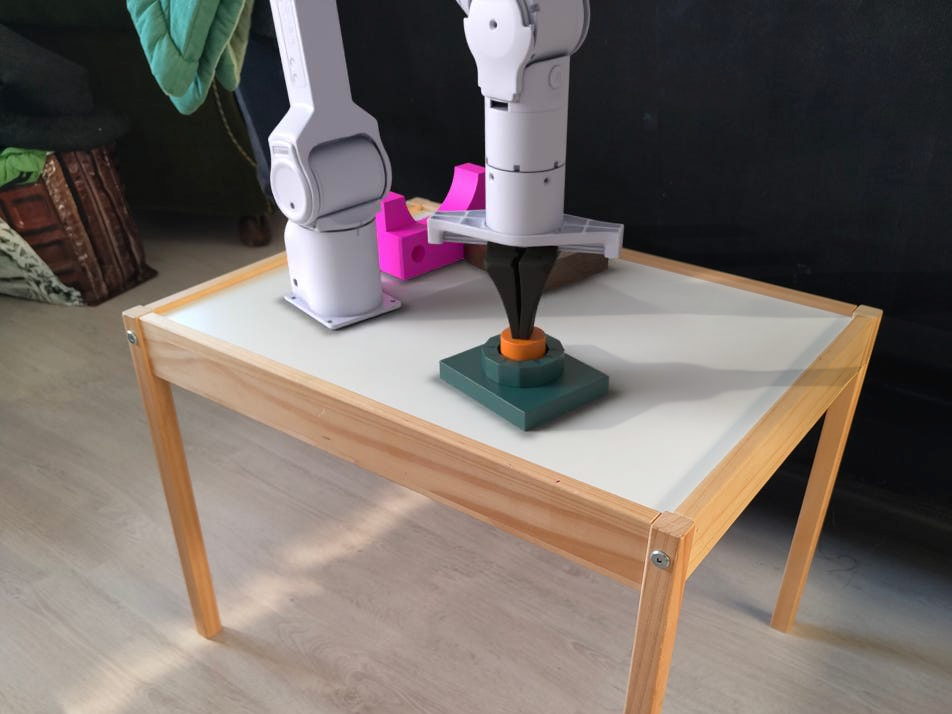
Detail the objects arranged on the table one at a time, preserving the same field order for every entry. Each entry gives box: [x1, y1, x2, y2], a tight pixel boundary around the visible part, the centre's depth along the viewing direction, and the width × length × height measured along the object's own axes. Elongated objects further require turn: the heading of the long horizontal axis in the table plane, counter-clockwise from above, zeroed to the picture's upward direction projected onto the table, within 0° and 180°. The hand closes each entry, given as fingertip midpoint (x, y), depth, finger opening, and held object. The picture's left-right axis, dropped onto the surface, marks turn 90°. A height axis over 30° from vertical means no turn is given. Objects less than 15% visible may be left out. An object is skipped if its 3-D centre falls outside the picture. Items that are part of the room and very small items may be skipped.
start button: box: [500, 325, 547, 361], centre depth 72 cm, size 4×4×2 cm
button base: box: [439, 333, 610, 432], centre depth 73 cm, size 11×9×4 cm
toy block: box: [375, 162, 486, 281], centre depth 96 cm, size 15×6×8 cm, turn 133°
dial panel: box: [463, 243, 610, 294], centre depth 95 cm, size 12×10×3 cm
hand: (522, 334), depth 72 cm, fingers closed, pressing on start button
